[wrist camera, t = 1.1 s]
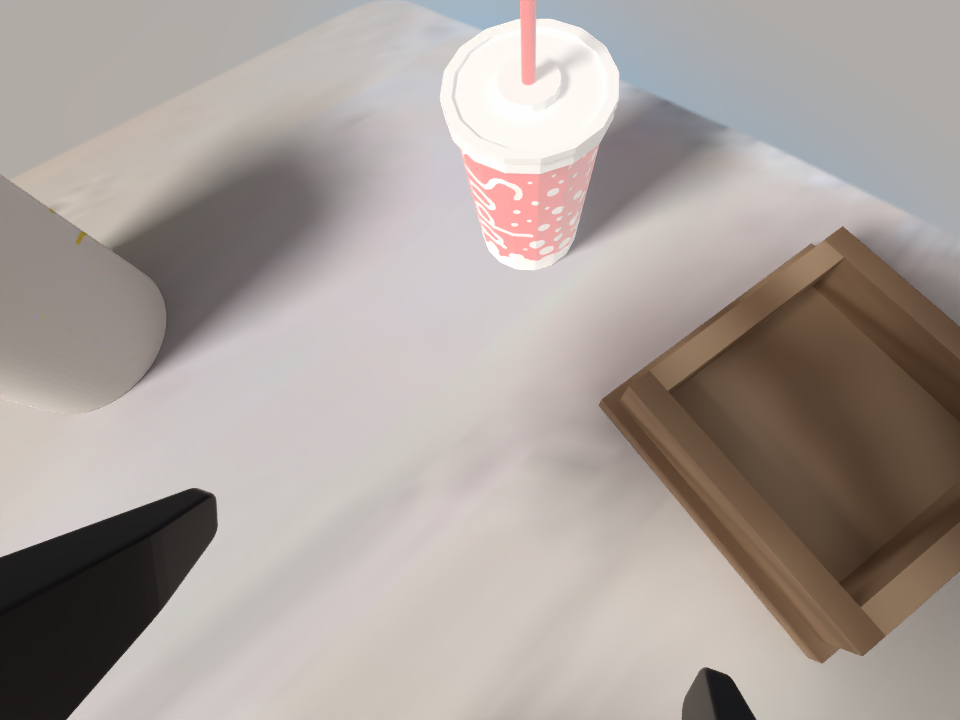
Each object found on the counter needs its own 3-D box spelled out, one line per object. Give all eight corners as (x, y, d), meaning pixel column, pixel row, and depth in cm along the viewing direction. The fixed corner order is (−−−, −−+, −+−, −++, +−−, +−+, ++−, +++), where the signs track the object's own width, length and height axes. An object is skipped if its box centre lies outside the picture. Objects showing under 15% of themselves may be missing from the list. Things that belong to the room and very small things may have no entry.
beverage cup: (447, 211, 27) (369, -94, 14) (550, 158, 28) (569, -185, 15) (505, 306, 25) (477, 54, 12) (615, 247, 26) (705, -57, 13)
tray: (808, 657, 20) (863, 681, 16) (599, 404, 23) (610, 383, 20) (1031, 464, 21) (1124, 450, 18) (800, 254, 25) (842, 211, 22)
